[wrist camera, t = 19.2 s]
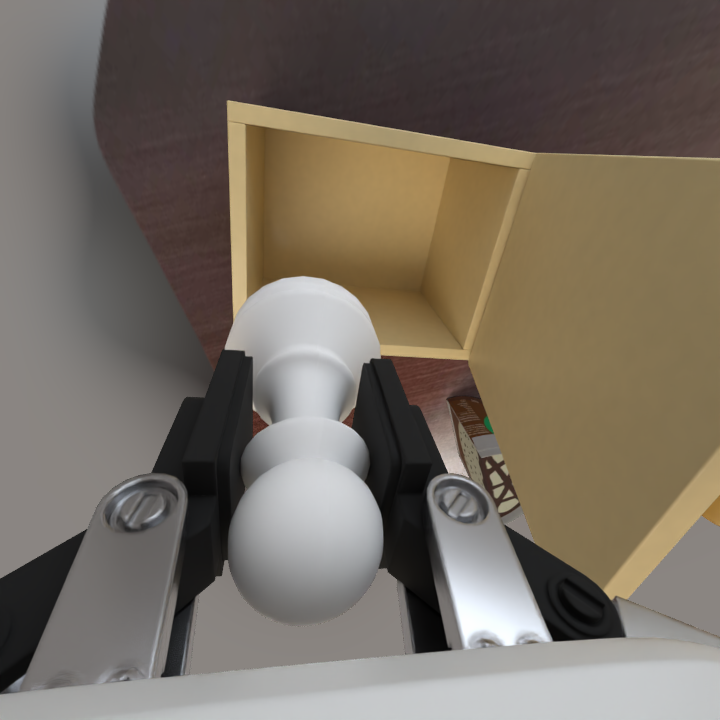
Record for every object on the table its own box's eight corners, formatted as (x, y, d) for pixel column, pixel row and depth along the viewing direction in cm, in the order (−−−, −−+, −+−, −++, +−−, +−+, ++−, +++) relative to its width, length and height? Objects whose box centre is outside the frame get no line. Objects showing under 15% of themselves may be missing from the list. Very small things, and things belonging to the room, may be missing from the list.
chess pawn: (350, 408, 15) (399, 682, 8) (221, 385, 14) (125, 690, 6) (393, 295, 13) (524, 524, 5) (244, 255, 12) (138, 482, 4)
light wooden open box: (254, 282, 33) (233, 346, 23) (254, 112, 27) (226, 100, 17) (423, 297, 36) (470, 360, 26) (459, 147, 30) (538, 153, 20)
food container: (506, 447, 48) (550, 515, 40) (460, 462, 48) (494, 532, 40) (497, 371, 42) (547, 432, 33) (444, 388, 42) (480, 453, 33)
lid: (567, 634, 11) (725, 657, 11) (950, 164, 5) (1291, 220, 5) (467, 362, 26) (537, 373, 26) (535, 152, 19) (627, 167, 19)
